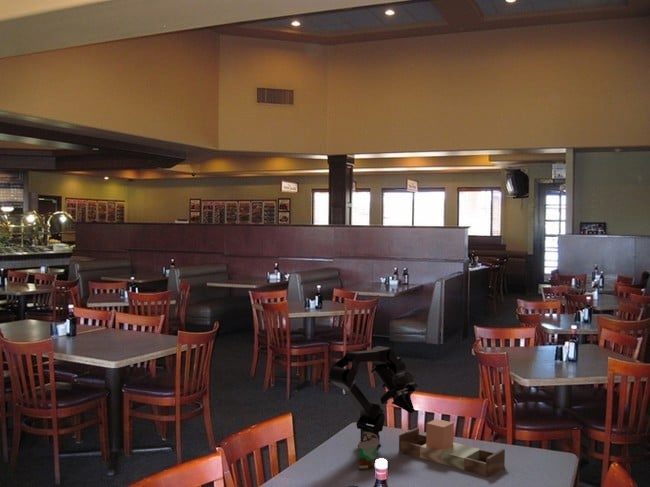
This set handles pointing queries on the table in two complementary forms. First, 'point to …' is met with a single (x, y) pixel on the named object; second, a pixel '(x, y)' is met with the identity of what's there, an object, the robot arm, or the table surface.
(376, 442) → the food container
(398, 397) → the robot arm
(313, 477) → the table surface
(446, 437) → the terracotta block
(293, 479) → the table surface
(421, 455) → the track
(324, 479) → the table surface
